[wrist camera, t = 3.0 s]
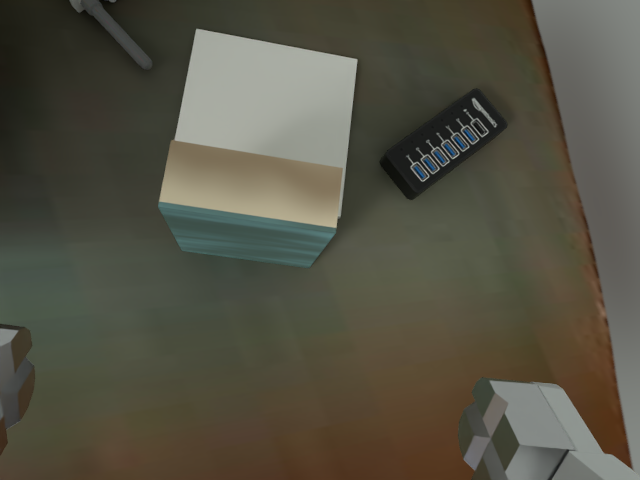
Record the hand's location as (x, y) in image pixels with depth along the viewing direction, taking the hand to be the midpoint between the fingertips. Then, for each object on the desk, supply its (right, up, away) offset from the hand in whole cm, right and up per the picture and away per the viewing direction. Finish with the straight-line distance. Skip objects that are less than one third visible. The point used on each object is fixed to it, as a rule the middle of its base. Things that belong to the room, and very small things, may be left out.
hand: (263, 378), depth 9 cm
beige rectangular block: (-5, +3, +32) cm, 32 cm away
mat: (-3, +12, +34) cm, 36 cm away
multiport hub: (+12, +11, +36) cm, 40 cm away
